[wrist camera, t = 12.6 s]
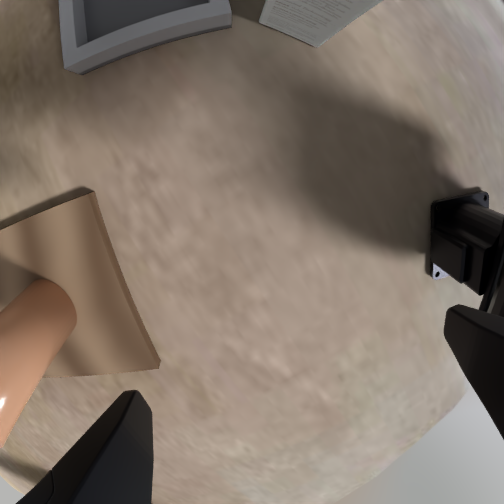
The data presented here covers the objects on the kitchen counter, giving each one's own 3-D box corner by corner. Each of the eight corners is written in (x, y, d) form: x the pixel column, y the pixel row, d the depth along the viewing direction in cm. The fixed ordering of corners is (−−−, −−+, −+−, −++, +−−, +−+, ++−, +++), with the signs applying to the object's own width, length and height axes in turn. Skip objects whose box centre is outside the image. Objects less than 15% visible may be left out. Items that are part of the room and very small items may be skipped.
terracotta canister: (43, 266, 18) (-61, 368, 7) (88, 317, 20) (12, 442, 9) (18, 300, 19) (-66, 394, 8) (58, 343, 21) (-7, 452, 10)
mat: (94, 191, 18) (88, 194, 17) (160, 360, 23) (158, 368, 22) (-25, 241, 18) (-31, 245, 17) (40, 371, 23) (36, 377, 22)
